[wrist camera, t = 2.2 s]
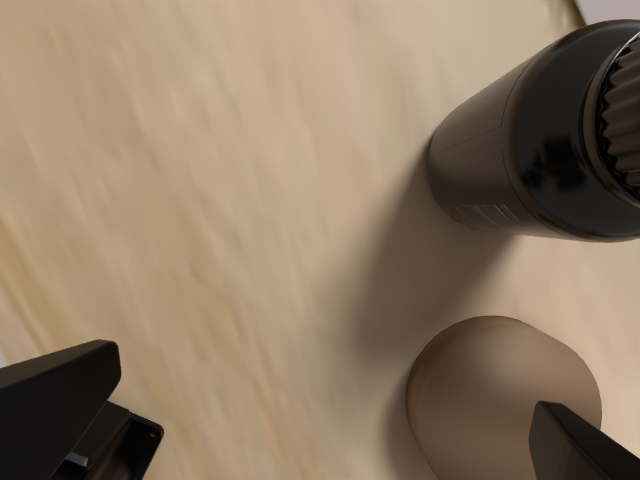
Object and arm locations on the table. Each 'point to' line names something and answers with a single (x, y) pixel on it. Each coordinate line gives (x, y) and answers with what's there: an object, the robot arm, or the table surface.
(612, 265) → the table surface
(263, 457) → the table surface
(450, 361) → the walnut stand
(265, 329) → the table surface
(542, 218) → the supplement bottle
